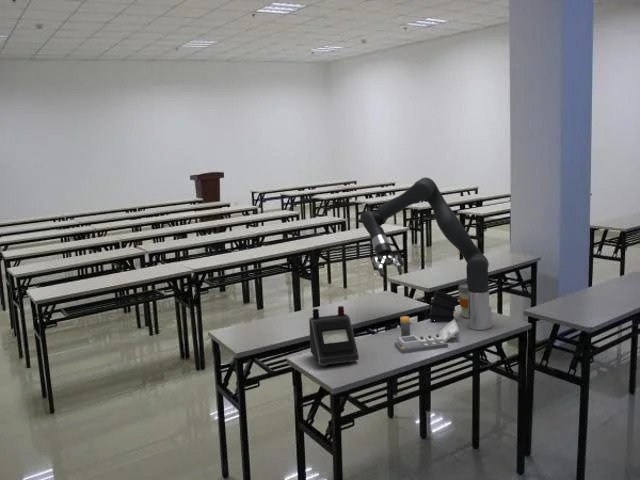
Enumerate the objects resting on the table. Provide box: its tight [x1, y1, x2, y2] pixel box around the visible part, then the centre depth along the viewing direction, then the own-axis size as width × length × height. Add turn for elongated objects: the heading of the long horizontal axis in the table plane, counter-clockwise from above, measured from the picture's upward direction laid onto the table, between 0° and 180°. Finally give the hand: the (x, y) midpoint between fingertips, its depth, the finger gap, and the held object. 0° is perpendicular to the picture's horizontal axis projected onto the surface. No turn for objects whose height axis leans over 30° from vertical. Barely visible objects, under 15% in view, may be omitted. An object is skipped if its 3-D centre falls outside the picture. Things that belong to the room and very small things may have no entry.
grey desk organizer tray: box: [394, 334, 449, 354], centre depth 249 cm, size 20×10×4 cm, turn 100°
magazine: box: [428, 289, 459, 323], centre depth 280 cm, size 4×13×15 cm, turn 88°
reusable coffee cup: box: [457, 282, 469, 319], centre depth 284 cm, size 13×13×15 cm
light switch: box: [439, 318, 460, 343], centre depth 258 cm, size 8×5×14 cm
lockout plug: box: [399, 315, 411, 337], centre depth 258 cm, size 4×4×10 cm
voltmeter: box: [308, 305, 360, 368], centre depth 239 cm, size 16×16×20 cm
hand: (392, 275), depth 266 cm, fingers open, 8 cm apart
